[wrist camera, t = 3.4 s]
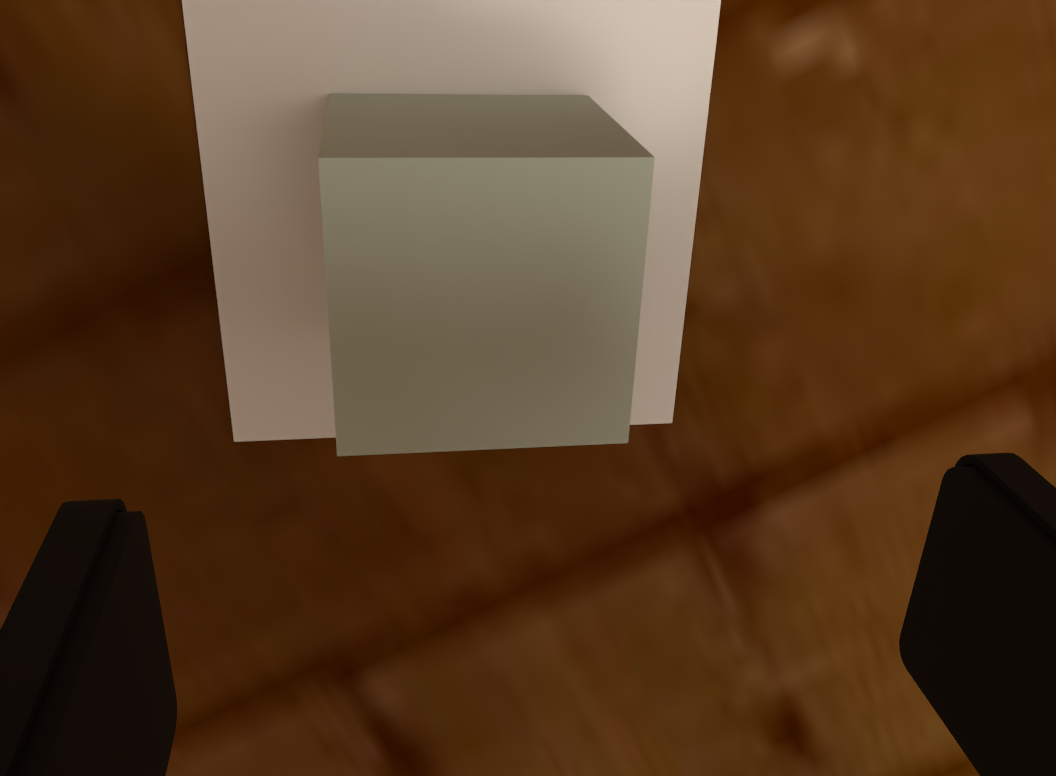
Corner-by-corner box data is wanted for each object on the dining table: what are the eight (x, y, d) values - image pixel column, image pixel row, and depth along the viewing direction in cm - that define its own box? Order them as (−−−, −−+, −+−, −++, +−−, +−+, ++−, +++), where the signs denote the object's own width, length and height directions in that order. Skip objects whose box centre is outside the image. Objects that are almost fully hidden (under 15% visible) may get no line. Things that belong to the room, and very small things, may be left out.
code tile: (670, 419, 28) (672, 423, 27) (234, 437, 26) (233, 442, 26) (722, -40, 22) (726, -40, 22) (176, -56, 21) (174, -56, 20)
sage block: (574, 329, 26) (628, 443, 20) (342, 335, 25) (336, 456, 20) (588, 95, 23) (654, 156, 18) (329, 93, 22) (317, 157, 17)
